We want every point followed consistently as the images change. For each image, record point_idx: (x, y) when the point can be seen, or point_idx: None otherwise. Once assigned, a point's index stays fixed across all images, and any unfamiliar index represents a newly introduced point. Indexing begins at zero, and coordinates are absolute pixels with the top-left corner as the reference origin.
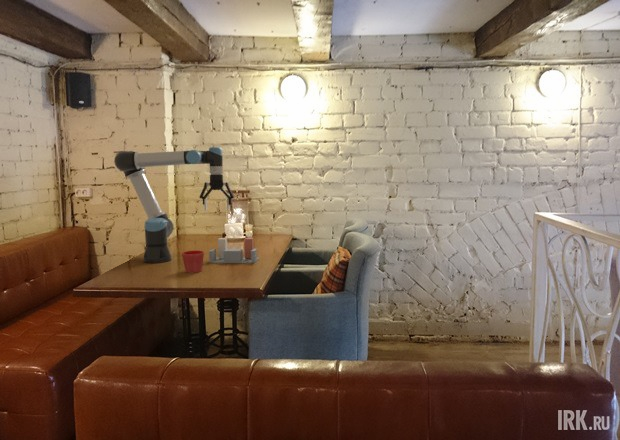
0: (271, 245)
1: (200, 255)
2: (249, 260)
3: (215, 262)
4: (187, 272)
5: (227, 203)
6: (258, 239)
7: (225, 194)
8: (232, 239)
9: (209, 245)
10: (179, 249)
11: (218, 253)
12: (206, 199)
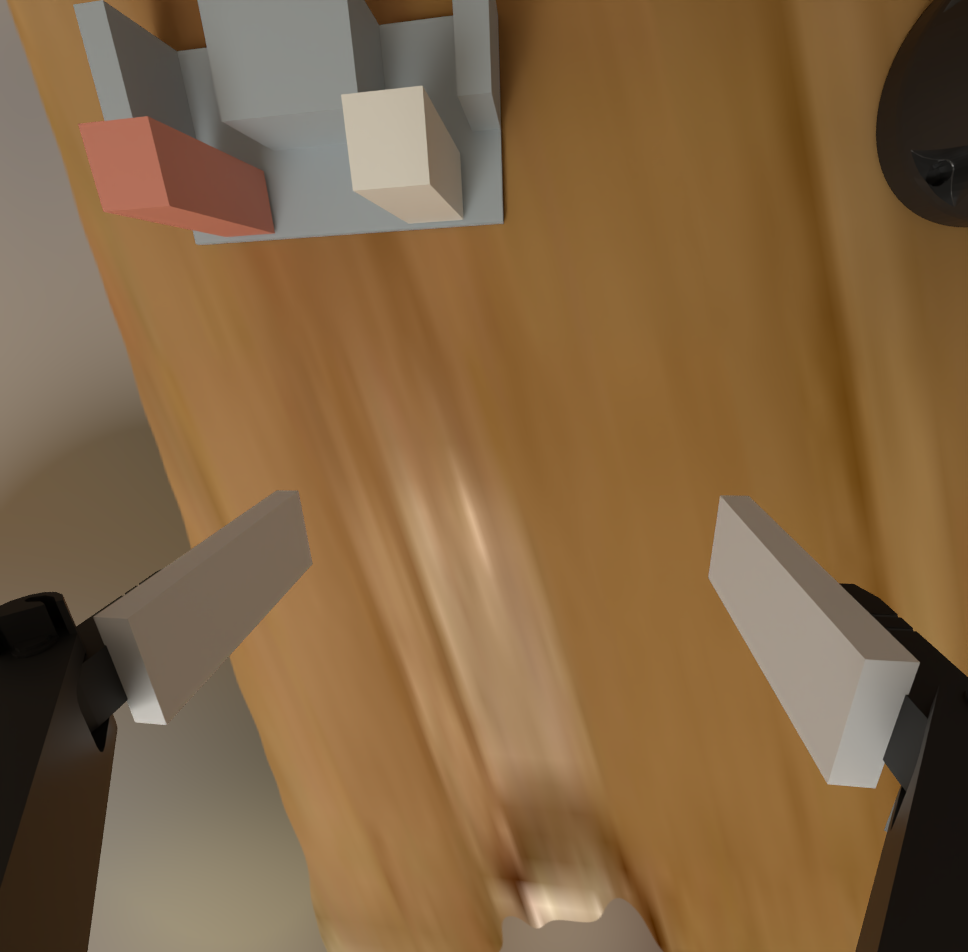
0: (306, 684)
1: None
2: (214, 118)
3: (448, 18)
4: None
5: (203, 558)
6: (439, 845)
7: (2, 771)
8: (584, 863)
9: (680, 711)
10: (871, 591)
11: (451, 140)
12: (835, 740)
